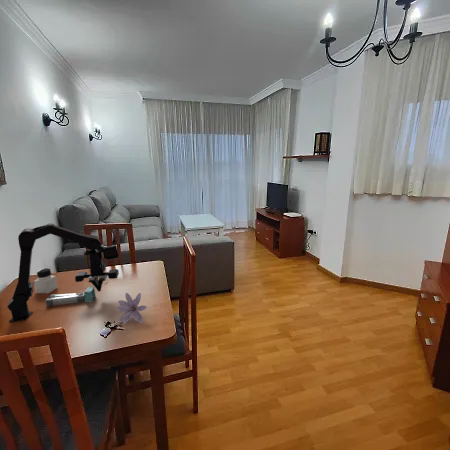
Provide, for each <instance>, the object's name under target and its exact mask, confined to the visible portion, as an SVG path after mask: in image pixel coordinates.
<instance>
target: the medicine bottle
mask: <svg viewBox="0 0 450 450" xmlns="http://www.w3.org/2000/svg"><path fill="white" fill-rule="evenodd" d="M36 275H37V279H35V280H33V283H34V285H33V286H34V289H35V293H36V294H45V293H46V294H48V295H49V294H50V293H51V292H53V291H55V290H56V289H58V287H59V286H58V281H57V275H52V272H51V269H50V268H49V267H48V268H47V267H46V268H41V269H38V270H37V271H36ZM46 294H45V295H46Z"/></svg>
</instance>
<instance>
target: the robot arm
mask: <svg viewBox="0 0 450 450" xmlns="http://www.w3.org/2000/svg"><path fill="white" fill-rule="evenodd" d="M48 235H52V236H57V237H60V238H63V239H66V240H68V241H72V242H75V243H78V244H79V245H81V246H82V247H84V248H86V249H85V250H84V251H83V256H87V257H88V264H89V266H88V267H89V269H90V270H89V271H90V273H88V272H87V271H80V272H78V273H77V274H76V275H75V276H74V280H75V283H80V282H84V281H85V279H88V283H90V284H92V285H93V287H94V288H95V289H96V290H97V291H98V292H101V291H102V287H103V283H104V281H106V279H107V277H108V279H111V280H112V279H113V280H114V279H117V278H118V276H119V274H120V272H119V271H120V270H119V269H117V268H115V269H114V268H113V269H109V271H106V270H107V267H106V266H107V265H106V263H104V261H103V260H104V259H105V260H106V261H110V260H116V259H119V252H118V247H117V245H116V244H114V245H108V246H105V245H104V244H103V243H102V242H101V240H100V238H99V237H98V236H96V235H93V234H84V233H79V232H76V231H74V230H71V229H68V228H64V227H62V226H59V225H55V224H54V223H47V224H44V225H40V226H37V227H34V228H31V227H30V228H25V229H23V230H22V231H20V233H19V234H18V238H17V240H18V246H19V250H20V256H19V257H20V258H19V268H18V279H17V283H16V286H15V290H14V292H13V295H12V296H11V298H10V300H9V302H8V305H7V309H8V310H9V311H10V313H11V316H12V317H11V318H10V319H9V320H8V322H9V323H12V322H22V321H26V320H27V319H29V317H30V316H32V314H33V310H31V311H29V306H28V301H29V300H30V298H31V297H32V296H33V293H34V288H33V287H34V286H35V285H34V282H31V279H30V278H31V277H30V276H31V266H32V265H31V264H32V255H33V249H34V246H35V243H36V240H39V239H41V238H44V237H46V236H48Z"/></svg>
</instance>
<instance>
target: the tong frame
mask: <svg viewBox="0 0 450 450" xmlns="http://www.w3.org/2000/svg"><path fill="white" fill-rule="evenodd" d="M77 303H78V304H79V303H86V301H85V294H84V292H78V294H77V295H73V296H64V297H55V298H49V297H47V298H46V300H45V305H46V307H47V308H49V307H53V306H59V305H68V304H69V305H70V304H77Z"/></svg>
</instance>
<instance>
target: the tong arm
mask: <svg viewBox="0 0 450 450" xmlns="http://www.w3.org/2000/svg"><path fill="white" fill-rule="evenodd" d="M73 295H78V294H77V292H75V293H64V294H63V293H62V294H61V293H60V294H56V293H55V294H54V293H53V294H50V295H49V296H48V298H55V297H64V296H73Z"/></svg>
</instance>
